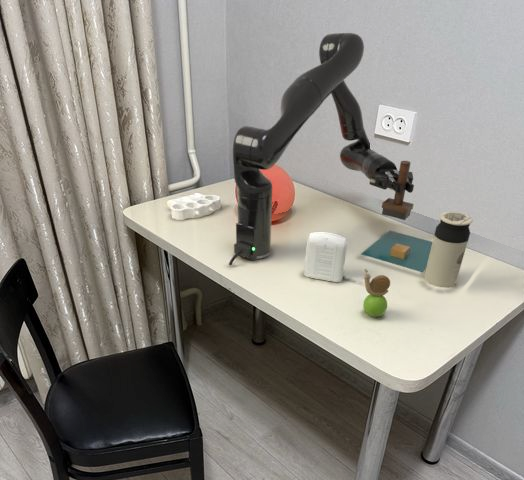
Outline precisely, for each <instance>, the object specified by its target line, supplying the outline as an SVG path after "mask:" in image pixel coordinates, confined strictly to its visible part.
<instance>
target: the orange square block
mask: <svg viewBox="0 0 524 480" xmlns="http://www.w3.org/2000/svg"><path fill="white" fill-rule="evenodd" d="M409 251H410V247H408V246H405V245H401V244H396V245H395V246H393V247H392V248H391V253H390V256H394V257H397V258H400V259H404V258H405V257H406V256H407V255H408V254H409Z"/></svg>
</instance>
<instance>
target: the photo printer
mask: <svg viewBox="0 0 524 480" xmlns="http://www.w3.org/2000/svg"><path fill="white" fill-rule="evenodd" d="M347 250H348V243H347V238H345V237H344V236H342V235H340V234H336V233H333V232H327V231H316V232H315V231H314V232H310V233H309V235H308V237H307V239H306V250H305V259H304V270H303V274H304V276H305V277H307V278H311V279H317V280H321V281H327V282H332V283H341V282H342V280H343V277H344V271H345V264H346V256H347Z"/></svg>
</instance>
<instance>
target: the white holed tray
mask: <svg viewBox="0 0 524 480" xmlns="http://www.w3.org/2000/svg"><path fill="white" fill-rule="evenodd" d="M166 205H167V207H168V208H169V209H170V213H171V217H172V219H173V220H176V221H184V220H188V219H198V218H201V217H203V216H210V215H211V214H213V212H216V211H220V209H221V208H222V207H221V206H222V204H221V197H220V196H219V195H215V194H206V195H205V194H202V193H199V192H195V193H193V194H190V195H183V196H181V197H177V198H174V199H173V198H172V199H169V200H167V202H166Z"/></svg>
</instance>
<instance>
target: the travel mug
mask: <svg viewBox="0 0 524 480" xmlns="http://www.w3.org/2000/svg"><path fill="white" fill-rule="evenodd" d="M439 219H440V220H439V223H438V224H437V225H436V226H435V231H434V235H433V238H432V241H431V242H432V246H431V251H430V255H429V259H428V263H427V267H426V269H425V270H424V275H423V279H424V281H425V282H426V283H427V284H429V285H430V286H434V287H438V288H450V287H451V288H452V287H454V286H455V285H456V284H457V280H458V276H459V274H460V270H461V266H462V263H463V259H464V256H465V252H466V249H467V245H468V242H469V238H470V235H471V229H470V226H471V224H472V223H473V218H472V217H471V216H470V215H468V214H467V213H463V212H459V211H444V212H442V213H441V214H439Z"/></svg>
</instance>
